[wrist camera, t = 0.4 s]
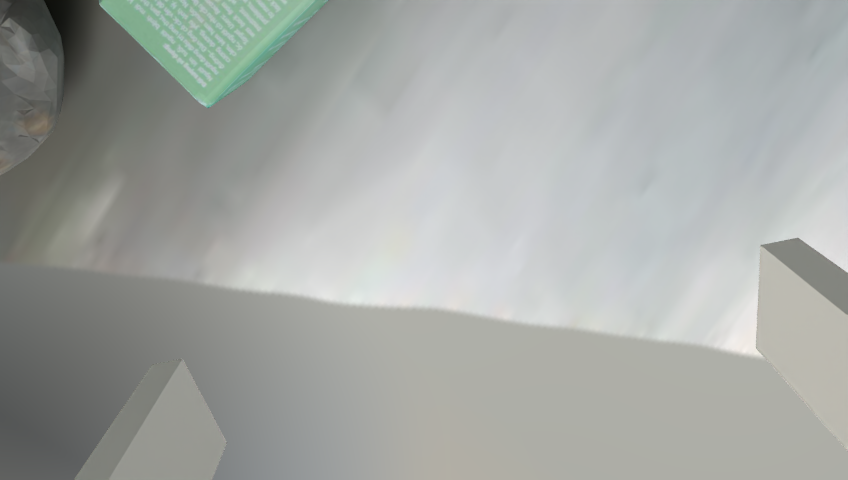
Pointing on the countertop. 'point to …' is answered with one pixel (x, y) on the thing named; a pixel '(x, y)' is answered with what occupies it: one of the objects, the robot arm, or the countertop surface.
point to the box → (211, 37)
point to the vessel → (28, 79)
